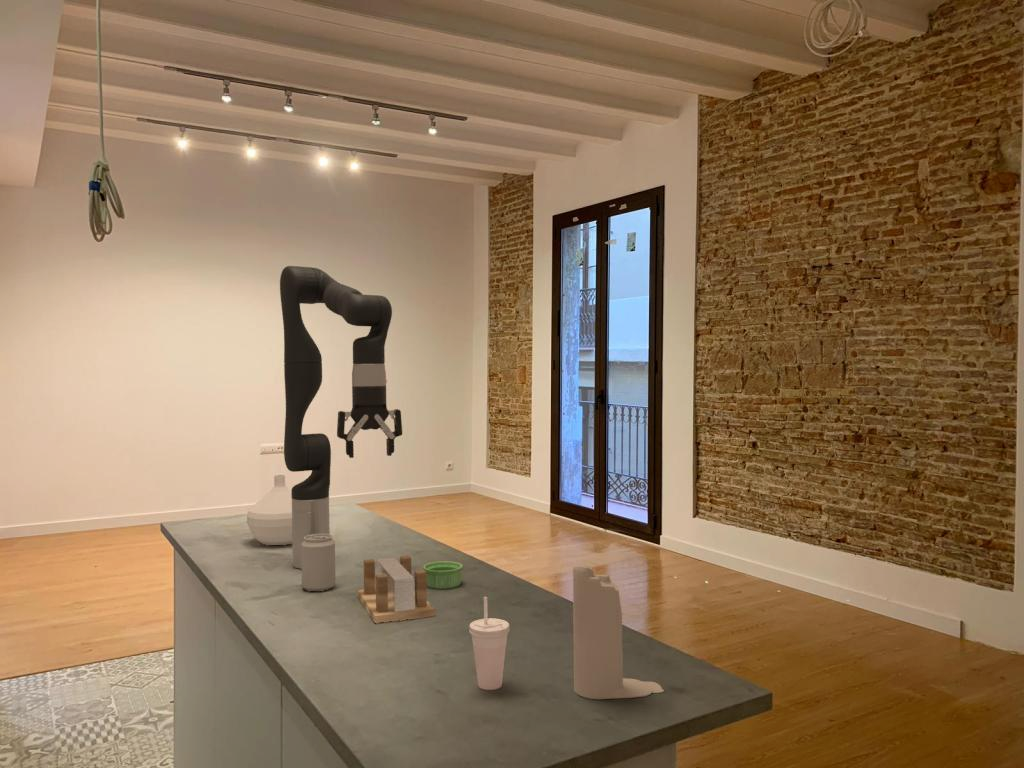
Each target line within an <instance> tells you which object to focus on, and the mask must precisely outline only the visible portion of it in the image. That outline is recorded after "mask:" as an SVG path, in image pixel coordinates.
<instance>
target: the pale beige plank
mask: <svg viewBox="0 0 1024 768" xmlns="http://www.w3.org/2000/svg"><path fill="white" fill-rule="evenodd" d="M375 562H376V575H380V574H386V575H387V576H388V604H389V606H390V607H391V608H392V609H393V611H394V612H395V613H396V612H405V611H413V610H415V601H414V587H415V576H413V575H412V573H411V574H410V573H409V572H408V571H407V570H406V569H405V568H404V567H403V566H402V565H401V564H400V561H398V560H397V559H396V558H395V557H387V558H377V559H376V561H375Z"/></svg>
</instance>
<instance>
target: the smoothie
mask: <svg viewBox="0 0 1024 768" xmlns="http://www.w3.org/2000/svg"><path fill="white" fill-rule="evenodd" d="M488 615H489V614H488V596H483V618H479V619H476V620H473V621H471V622H470V624H469V634H470V635H471V641H472V646H473V648H472V649H473V656H474V663H475V671H476V678H477V679H476V680H477V685H478V687H479V688H480V689H482V690H485V691H493V690H497V689H500V688H501V687H502V684H503V675H504V667H505V658H506V651H507V650H506V649H507V641H508V640H507V639H508V634H509V632H510V623H509V622H508V621H506V620H504V619H501V618H495V617H494V618H492V617H490V618H488Z"/></svg>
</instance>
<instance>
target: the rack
mask: <svg viewBox="0 0 1024 768" xmlns="http://www.w3.org/2000/svg"><path fill="white" fill-rule="evenodd" d="M375 562H376V561H375V560H374V559H373V558H371V559H364V560H363V589H359V590H357V598H358V599H359V601H360V602H362V603H361V604H362V606H363V607H364V608H365V610H366V612H367V613H368V615H369V617H370V618H371V619H372V621H373V623H374V622H375V623H376V624H381V623H380V622H384V623H390V622H389V621H392V622H398V620H400V621H405V620H406V619H408V620H413V619H414V620H415V619H422V618H429V617H435V607H433V605H432V604H431V603H430V602H429V601H428V599H427V598H428V586H427V572H426V571H425V570H424V569H420V570H414V601H415V610H413V611H405V612H396V613H395V612H394V611H393V609H392V608H391V607H390V606H389V604H388V576H387V575H386V574H380V575H377V574H376V565H375V564H376V563H375ZM399 563H400V564H401V565H402V566H403V567H404V568H405V569H406V570H407V571H408V572H409V573H410V574H411V575H412V556H410V555H403V556H402V555H401V556H400V557H399ZM406 621H407V620H406ZM375 623H374V624H375Z"/></svg>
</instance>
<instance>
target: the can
mask: <svg viewBox="0 0 1024 768" xmlns="http://www.w3.org/2000/svg"><path fill="white" fill-rule="evenodd" d="M304 539H305V540H304V541H303V542H302V544H301V557H302V569H301V587H302V588H303V589H304V590H305V591H307V590H309V591H308V592H310V591H322V590H327V591H329V590H331V589H332V588H333V587H334V586H335V585H336V580H337V579H336V542H335V540H334V539H333V536H332V534H312V535H308V536H305V537H304ZM330 588H331V589H330ZM328 589H329V590H328ZM322 592H323V591H322Z"/></svg>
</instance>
